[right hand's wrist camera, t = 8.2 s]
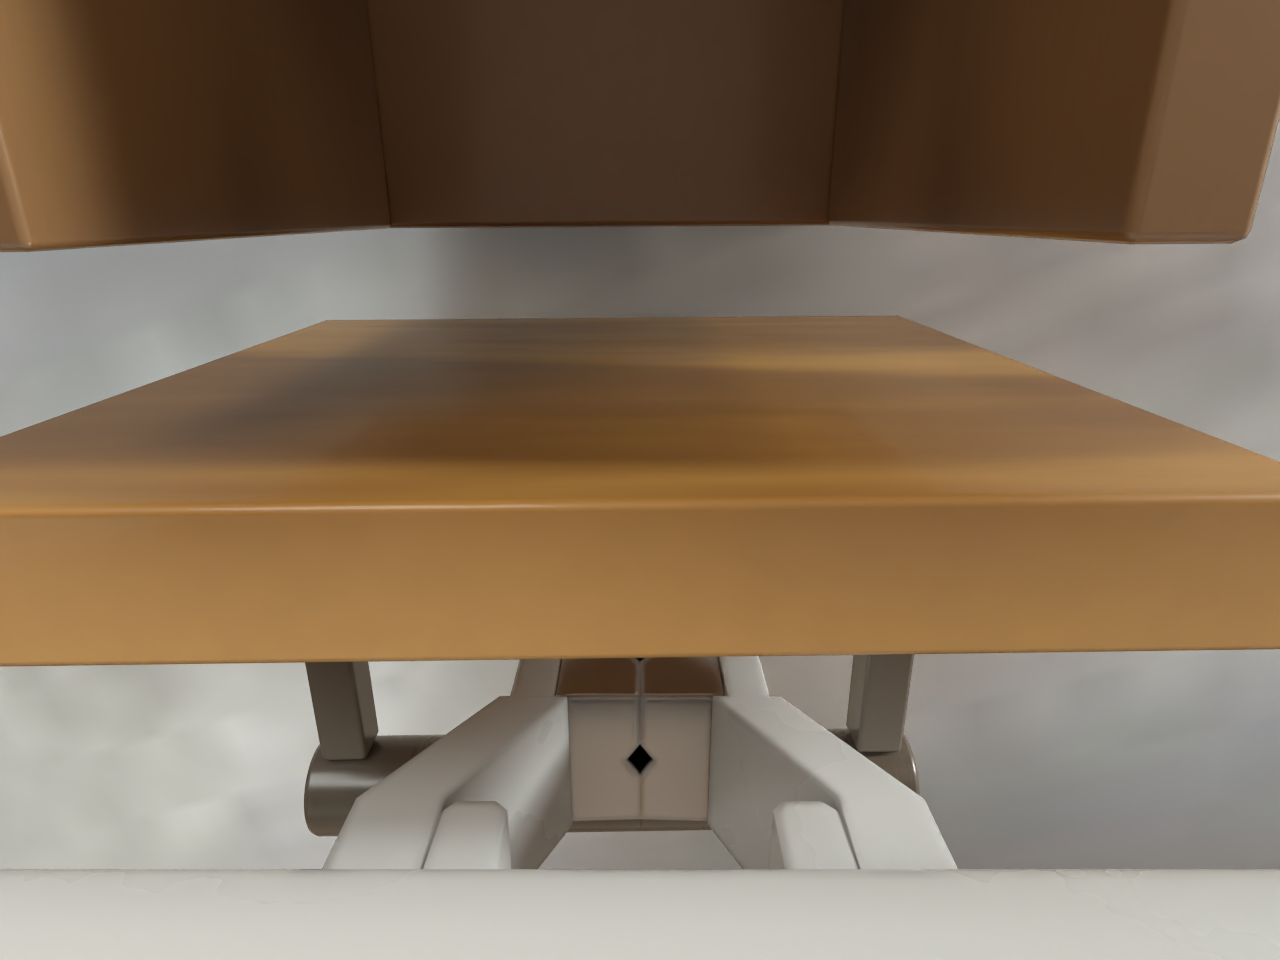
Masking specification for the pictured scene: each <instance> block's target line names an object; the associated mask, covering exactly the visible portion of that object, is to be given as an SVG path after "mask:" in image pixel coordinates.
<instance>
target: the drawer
mask: <svg viewBox="0 0 1280 960" xmlns="http://www.w3.org/2000/svg"><path fill="white" fill-rule="evenodd" d="M1279 118H1280V0H0V252H33V251H48V250H64V249H79V248H94V247H109V246H124V245H140V244H155V243H170V242H185V241H200V240H216V239H231V238H246V237H261V236H276V235H292V234H307V233H322V232H337V231H353V230H368V229H383V228H472V227H627V226H781V225H835V226H851V227H867V228H883V229H898V230H914V231H930V232H946V233H962V234H978V235H993V236H1009V237H1025V238H1041V239H1057V240H1073V241H1088V242H1104V243H1120V244H1230V243H1234V242H1236V241H1239V240H1242V239H1244V238H1246V237H1247V235H1248V234H1249V232H1250V230H1251V227H1252V223H1253V219H1254V215H1255V212H1256V208H1257V204H1258V200H1259V196H1260V192H1261V188H1262V184H1263V180H1264V176H1265V172H1266V169H1267V165H1268V161H1269V157H1270V153H1271V149H1272V145H1273V141H1274V137H1275V133H1276V129H1277V125H1278V122H1279ZM1243 649H1280V462H1278V461H1275V460H1273V459H1270V458H1267V457H1265V456H1262V455H1260V454H1257V453H1254V452H1252V451H1249V450H1247V449H1244V448H1241V447H1239V446H1236V445H1234V444H1231V443H1228V442H1226V441H1223V440H1220V439H1218V438H1215V437H1213V436H1210V435H1207V434H1205V433H1202V432H1200V431H1197V430H1194V429H1192V428H1189V427H1187V426H1184V425H1181V424H1179V423H1176V422H1173V421H1171V420H1168V419H1166V418H1163V417H1160V416H1158V415H1155V414H1153V413H1150V412H1147V411H1145V410H1142V409H1140V408H1137V407H1134V406H1132V405H1129V404H1127V403H1124V402H1121V401H1119V400H1116V399H1113V398H1111V397H1108V396H1106V395H1103V394H1100V393H1098V392H1095V391H1093V390H1090V389H1087V388H1085V387H1082V386H1080V385H1077V384H1074V383H1072V382H1069V381H1067V380H1064V379H1061V378H1059V377H1056V376H1053V375H1051V374H1048V373H1046V372H1043V371H1040V370H1038V369H1035V368H1033V367H1030V366H1027V365H1025V364H1022V363H1020V362H1017V361H1014V360H1012V359H1009V358H1007V357H1004V356H1001V355H999V354H996V353H993V352H991V351H988V350H986V349H983V348H980V347H978V346H975V345H973V344H970V343H967V342H965V341H962V340H960V339H957V338H954V337H952V336H949V335H947V334H944V333H941V332H939V331H936V330H933V329H931V328H928V327H926V326H923V325H920V324H918V323H915V322H913V321H910V320H907V319H905V318H902V317H900V316H803V317H678V318H552V319H427V320H326V321H323V322H320V323H317V324H315V325H312V326H309V327H306V328H304V329H301V330H298V331H295V332H292V333H290V334H287V335H284V336H281V337H278V338H276V339H273V340H270V341H267V342H264V343H262V344H259V345H256V346H253V347H250V348H248V349H245V350H242V351H239V352H236V353H234V354H231V355H228V356H225V357H223V358H220V359H217V360H214V361H211V362H209V363H206V364H203V365H200V366H197V367H195V368H192V369H189V370H186V371H183V372H181V373H178V374H175V375H172V376H169V377H167V378H164V379H161V380H158V381H155V382H153V383H150V384H147V385H144V386H141V387H139V388H136V389H133V390H130V391H128V392H125V393H122V394H119V395H116V396H114V397H111V398H108V399H105V400H102V401H100V402H97V403H94V404H91V405H88V406H86V407H83V408H80V409H77V410H74V411H72V412H69V413H66V414H63V415H60V416H58V417H55V418H52V419H49V420H46V421H44V422H41V423H38V424H35V425H33V426H30V427H27V428H24V429H21V430H19V431H16V432H13V433H10V434H7V435H5V436H2V437H0V666H66V665H140V664H213V663H287V662H305V664H306V670H307V675H308V680H309V686H310V691H311V697H312V702H313V708H314V713H315V719H316V724H317V730H318V735H319V741H320V745H319V746H318V748H317V749H316V751H315V753H314V755H313V758H312V760H311V763H310V767H309V770H308V774H307V779H306V785H305V794H304V812H305V819H306V823H307V826H308V828H309V830H310V831H311V833H313V834H315V835H317V836H338V835H339V833H340V831H341V829H342V827H343V825H344V823H345V821H346V819H347V817H348V814H349V812H350V810H351V808H352V806H353V804H354V802H355V800H356V798H357V797H359V796H360V795H362V794H363V793H364V792H366V791H367V790H369V789H370V788H371V787H373V786H374V785H376V784H377V783H378V782H380V781H381V780H383V779H384V778H386V777H387V776H388V775H390V774H391V773H393V772H394V771H395V770H397V769H398V768H400V767H401V766H402V765H404V764H405V763H407V762H408V761H409V760H411V759H412V758H414V757H415V756H416V755H418V754H419V753H421V752H422V751H423V750H425V749H426V748H428V747H429V746H431V745H432V744H433V743H435V742H436V741H438V740H439V739H440V738H442V737H443V736H445V735H391V736H377V734H378V725H377V718H376V712H375V705H374V698H373V692H372V685H371V678H370V671H369V665H368V661H434V660H508V659H581V658H655V657H728V656H802V655H854V656H853V666H852V675H851V685H850V695H849V704H848V714H847V723H846V725H847V727H848V729H827V730H828V731H830V732H831V733H832V734H834V735H835V736H837V737H838V738H839V739H841V740H842V741H844V742H845V743H846V744H848V745H849V746H851V747H852V748H853V749H855V750H856V751H858V752H859V753H860V754H862V755H863V756H865V757H866V758H867V759H869V760H870V761H872V762H873V763H874V764H876V765H877V766H879V767H880V768H881V769H883V770H884V771H886V772H887V773H888V774H890V775H891V776H893V777H894V778H895V779H897V780H898V781H900V782H901V783H902V784H904V785H905V786H907V787H908V788H909V789H911V790H912V791H914V792H915V793H916V794H918V795H919V782H918V774H917V768H916V764H915V760H914V756H913V753H912V750H911V748H910V745H909V743H908V741H907V739H906V737H905V736H904V734H903V730H904V723H905V716H906V708H907V701H908V694H909V686H910V679H911V672H912V664H913V657H914V654H949V653H1023V652H1096V651H1170V650H1243ZM676 830H712V829H711V828H710V826H709V825H708V821H691V820H655V819H624V820H589V821H572V826H571V827H570V828H569V830H568V831H567V832H615V831H676Z"/></svg>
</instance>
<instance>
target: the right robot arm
mask: <svg viewBox="0 0 1280 960" xmlns="http://www.w3.org/2000/svg"><path fill="white" fill-rule="evenodd" d="M624 819H655V820H691V821H708V825H709V826H710V828H711V829H712V830H713V832H714V833H715V834H716V835H717V837H718V838H719V839H720V841H721V842H722V843H723V844H724V846H725V847H726V848H727V850H728V851H729V852H730V853H731V855H732V856H733V857H734V858H735V860H736V861H737V862H738V864H739V865H740V866H741V867H742V869H538V868H539V867H540V865H541V864H542V863H543V862H544V860H545V859H546V858H547V856H548V855H549V854H550V853H551V851H552V850H553V849H554V848H555V846H556V845H557V844H558V842H559V841H560V840H561V839H562V837H563V836H564V835H565V834H566V832H567V831H568V830H569V828H570V827H571V826H572V821H589V820H624ZM0 960H1280V869H958V868H957V866H956V864H955V862H954V860H953V858H952V856H951V854H950V851H949V849H948V847H947V845H946V843H945V841H944V839H943V837H942V835H941V833H940V831H939V829H938V826H937V824H936V822H935V820H934V818H933V816H932V814H931V812H930V810H929V808H928V806H927V804H926V801H925V799H923V798H922V797H921V796H919V795H918V794H916V793H915V792H914V791H912V790H911V789H909V788H908V787H907V786H905V785H904V784H902V783H901V782H900V781H898V780H897V779H895V778H894V777H893V776H891V775H890V774H888V773H887V772H886V771H884V770H883V769H881V768H880V767H879V766H877V765H876V764H874V763H873V762H872V761H870V760H869V759H867V758H866V757H865V756H863V755H862V754H860V753H859V752H858V751H856V750H855V749H853V748H852V747H851V746H849V745H848V744H846V743H845V742H844V741H842V740H841V739H839V738H838V737H837V736H835V735H834V734H832V733H831V732H830V731H828V730H827V729H825V728H824V727H823V726H821V725H820V724H818V723H817V722H816V721H814V720H813V719H811V718H810V717H809V716H807V715H806V714H804V713H803V712H802V711H800V710H799V709H797V708H796V707H795V706H793V705H792V704H790V703H789V702H788V701H786V700H785V699H783V698H782V697H780V696H769V692H768V688H767V684H766V681H765V677H764V673H763V670H762V666H761V662H760V659H759V656H728V657H655V658H581V659H520V662H519V665H518V669H517V673H516V677H515V680H514V684H513V688H512V691H511V695H510V696H500V697H498V698H497V699H495V700H494V701H492V702H491V703H490V704H488V705H487V706H485V707H484V708H483V709H481V710H480V711H478V712H477V713H476V714H474V715H473V716H471V717H470V718H469V719H467V720H466V721H464V722H463V723H461V724H460V725H459V726H457V727H456V728H454V729H453V730H452V731H450V732H449V733H447V734H446V735H445V736H443V737H442V738H440V739H439V740H438V741H436V742H435V743H433V744H432V745H431V746H429V747H428V748H426V749H425V750H423V751H422V752H421V753H419V754H418V755H416V756H415V757H414V758H412V759H411V760H409V761H408V762H407V763H405V764H404V765H402V766H401V767H400V768H398V769H397V770H395V771H394V772H393V773H391V774H390V775H388V776H387V777H386V778H384V779H383V780H381V781H380V782H378V783H377V784H376V785H374V786H373V787H371V788H370V789H369V790H367V791H366V792H364V793H363V794H362V795H360V796H359V797H357V798H356V800H355V802H354V804H353V806H352V808H351V810H350V812H349V814H348V817H347V819H346V821H345V823H344V825H343V827H342V829H341V831H340V833H339V835H338V837H337V839H336V841H335V843H334V845H333V847H332V849H331V851H330V854H329V856H328V858H327V860H326V862H325V864H324V866H323V868H322V869H0Z"/></svg>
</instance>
